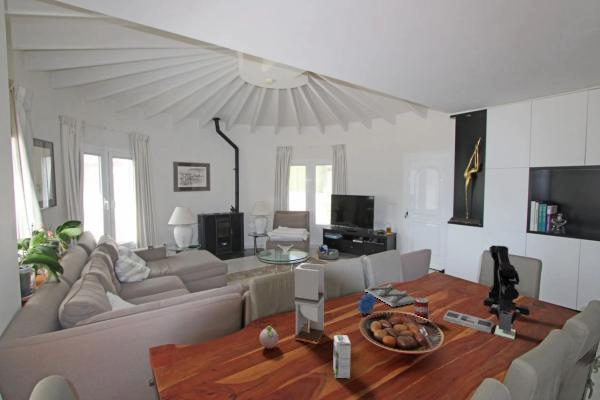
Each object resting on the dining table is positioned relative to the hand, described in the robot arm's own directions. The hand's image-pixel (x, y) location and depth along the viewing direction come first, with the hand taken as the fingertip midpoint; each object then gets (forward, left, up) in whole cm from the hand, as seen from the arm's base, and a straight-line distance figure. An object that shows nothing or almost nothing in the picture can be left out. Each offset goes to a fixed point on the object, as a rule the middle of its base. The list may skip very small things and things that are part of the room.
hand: (505, 322), depth 145 cm
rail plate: (0, -16, -5) cm, 17 cm away
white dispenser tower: (+67, -73, -5) cm, 100 cm away
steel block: (0, 0, -3) cm, 3 cm away
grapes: (+25, -64, -5) cm, 69 cm away
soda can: (+15, -36, -5) cm, 40 cm away
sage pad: (0, 0, -5) cm, 5 cm away
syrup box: (+81, -46, -5) cm, 94 cm away
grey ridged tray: (-8, -63, -6) cm, 64 cm away
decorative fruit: (+87, -81, -5) cm, 119 cm away
